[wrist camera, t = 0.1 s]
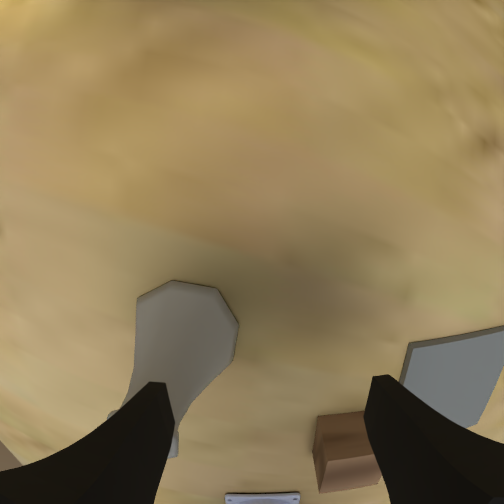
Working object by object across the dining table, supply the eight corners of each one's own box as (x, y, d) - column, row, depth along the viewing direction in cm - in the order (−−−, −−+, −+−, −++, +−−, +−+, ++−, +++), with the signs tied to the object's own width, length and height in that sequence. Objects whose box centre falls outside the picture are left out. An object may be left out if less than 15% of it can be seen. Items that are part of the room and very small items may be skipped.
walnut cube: (364, 444, 24) (377, 484, 19) (312, 451, 24) (319, 493, 19) (375, 408, 22) (393, 450, 17) (317, 415, 22) (327, 461, 18)
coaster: (473, 419, 23) (476, 424, 23) (378, 445, 24) (380, 451, 23) (512, 323, 20) (516, 327, 19) (409, 343, 20) (413, 348, 20)
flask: (248, 367, 21) (242, 484, 11) (152, 373, 21) (107, 476, 12) (229, 271, 19) (204, 369, 10) (123, 285, 20) (39, 369, 10)
